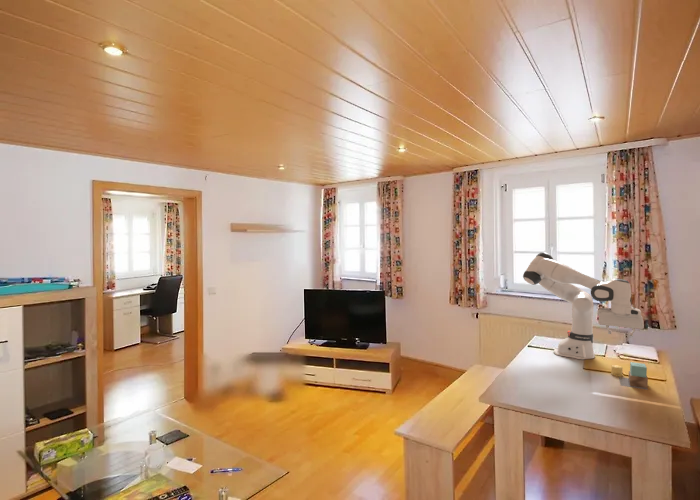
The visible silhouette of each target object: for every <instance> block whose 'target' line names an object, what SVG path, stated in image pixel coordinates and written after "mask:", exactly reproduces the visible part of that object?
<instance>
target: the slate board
mask: <svg viewBox="0 0 700 500" xmlns="http://www.w3.org/2000/svg"><path fill="white" fill-rule="evenodd" d="M618 381H619V385H620V386H621V387H627V388H635V389H639V390H640V389H641V390H647V391H648V390H649V389H648V388H649V387H648V388H643V387H636V386H630V384H629V377H623V376H618Z"/></svg>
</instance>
